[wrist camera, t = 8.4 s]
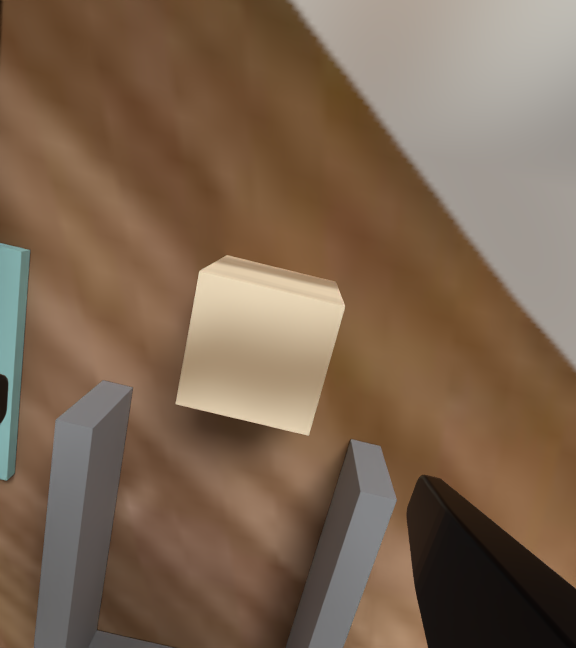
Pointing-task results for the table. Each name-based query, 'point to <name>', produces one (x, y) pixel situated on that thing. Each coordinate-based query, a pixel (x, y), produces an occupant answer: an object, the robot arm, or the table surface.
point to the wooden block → (259, 343)
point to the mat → (12, 345)
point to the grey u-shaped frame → (97, 519)
